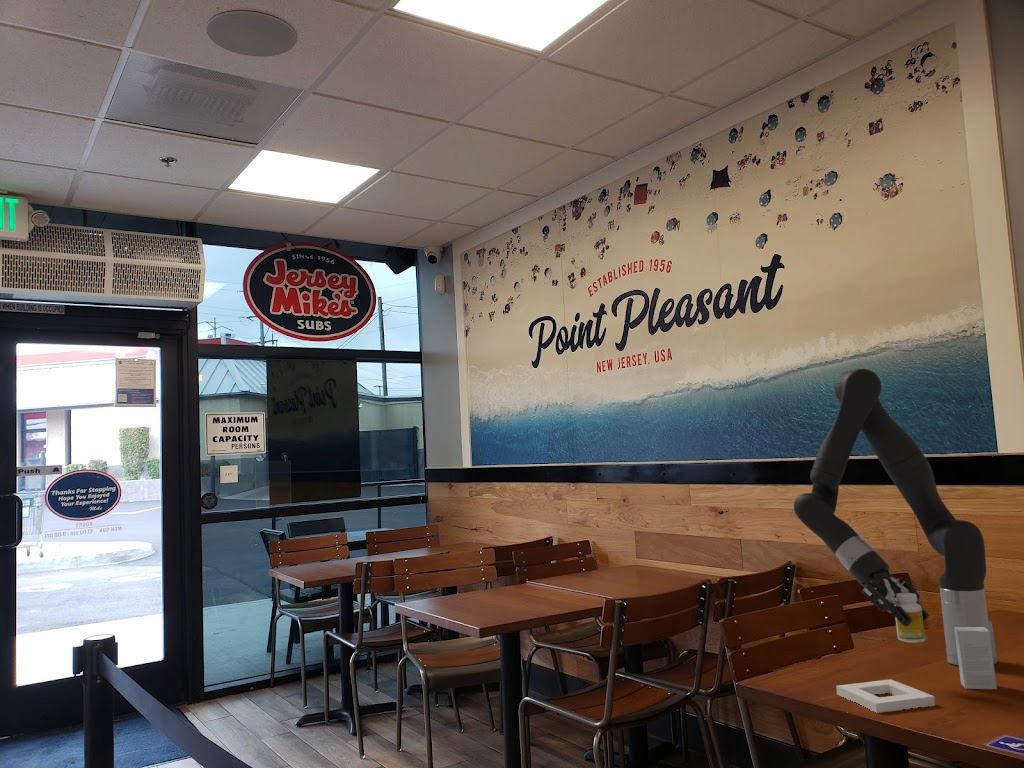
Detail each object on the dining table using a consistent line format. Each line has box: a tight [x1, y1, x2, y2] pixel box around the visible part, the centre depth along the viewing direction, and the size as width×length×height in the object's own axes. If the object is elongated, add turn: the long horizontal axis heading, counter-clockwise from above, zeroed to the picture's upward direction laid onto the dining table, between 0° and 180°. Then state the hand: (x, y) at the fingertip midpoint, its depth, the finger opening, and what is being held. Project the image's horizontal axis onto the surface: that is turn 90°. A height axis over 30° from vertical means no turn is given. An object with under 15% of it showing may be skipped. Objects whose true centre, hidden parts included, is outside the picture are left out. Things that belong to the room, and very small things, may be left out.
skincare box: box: [954, 627, 998, 691], centre depth 165 cm, size 6×4×12 cm
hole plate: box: [835, 678, 936, 714], centre depth 159 cm, size 13×13×2 cm
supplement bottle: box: [894, 592, 926, 644], centre depth 169 cm, size 5×5×10 cm
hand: (917, 621), depth 167 cm, fingers closed on supplement bottle, 5 cm apart
